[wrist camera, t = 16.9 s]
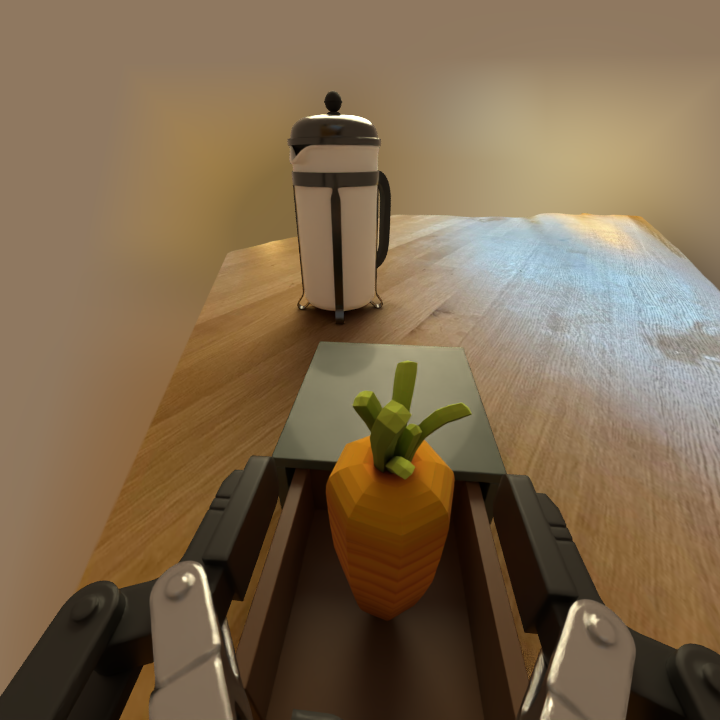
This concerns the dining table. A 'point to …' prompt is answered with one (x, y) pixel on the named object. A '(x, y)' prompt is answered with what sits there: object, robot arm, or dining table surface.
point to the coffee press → (339, 208)
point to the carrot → (391, 501)
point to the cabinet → (376, 373)
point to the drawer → (380, 627)
